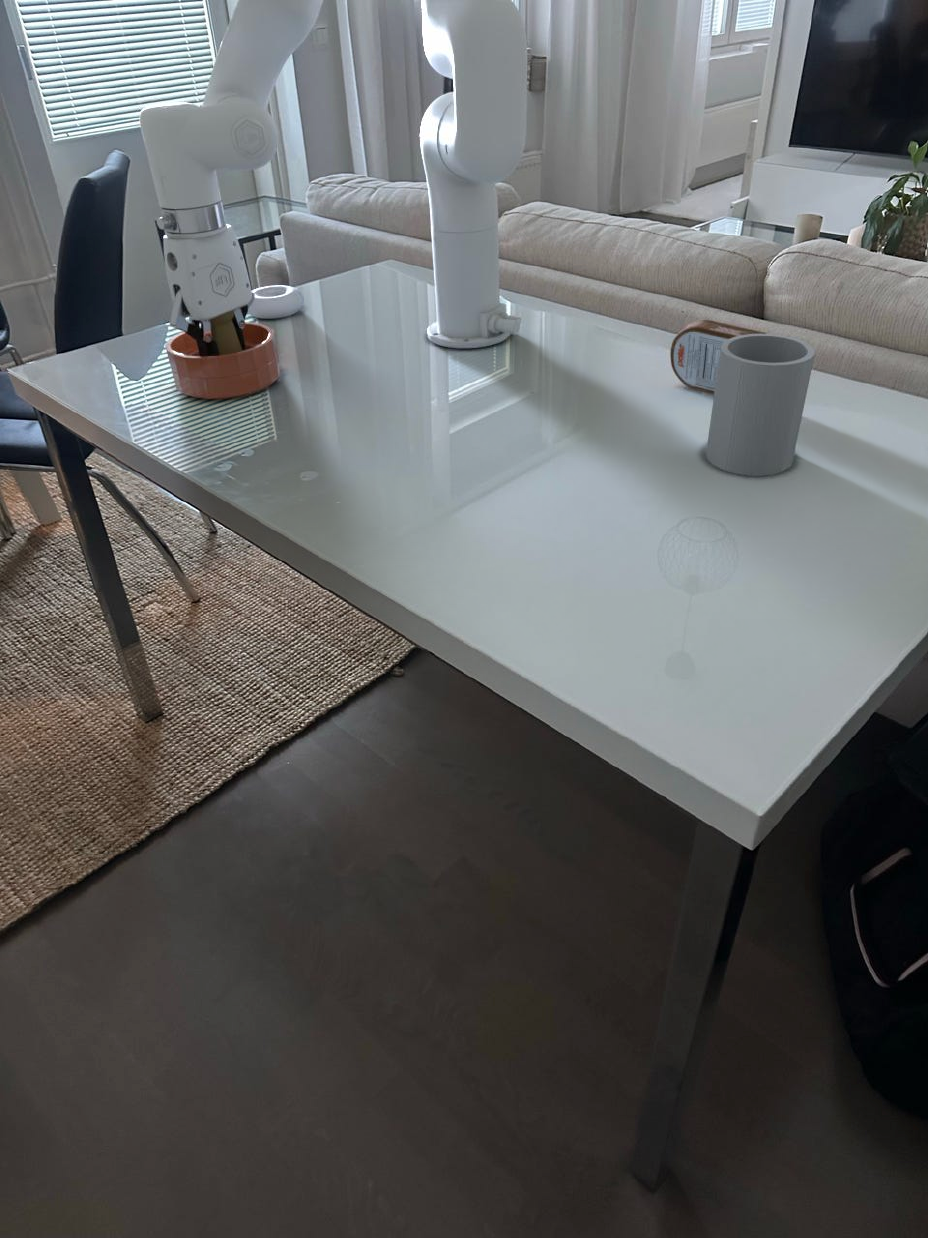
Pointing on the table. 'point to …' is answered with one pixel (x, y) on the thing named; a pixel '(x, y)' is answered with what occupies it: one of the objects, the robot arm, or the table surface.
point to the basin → (225, 365)
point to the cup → (758, 403)
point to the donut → (276, 302)
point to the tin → (701, 352)
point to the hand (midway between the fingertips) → (225, 361)
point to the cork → (225, 334)
